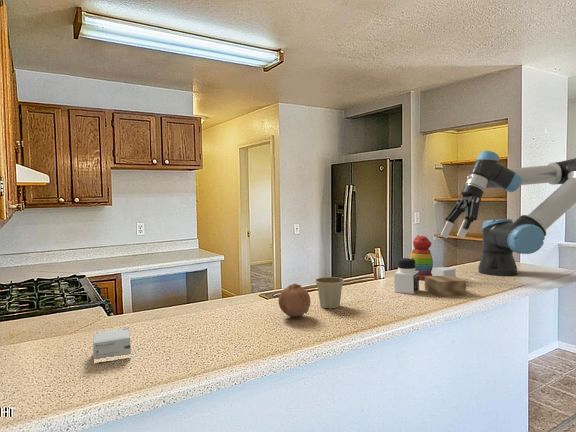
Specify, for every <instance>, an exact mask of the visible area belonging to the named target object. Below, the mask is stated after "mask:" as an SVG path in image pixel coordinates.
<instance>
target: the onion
mask: <svg viewBox="0 0 576 432" xmlns="http://www.w3.org/2000/svg"><path fill="white" fill-rule="evenodd" d="M278 306H279V308H280V310H281V311H282V312H283V313H284V314H286V316H288V317H289V318H298V317H303V315H304V314H308V312H309V310H310V309H309V308H310V306H311V297H310V294H309V292H308V291H307V290H306V289H305V288H303V287H302V285H300V284H298V283H293V284H290V285H288V286H287V287H285V288H283V290H282V291H281V292H280V294H279V297H278Z"/></svg>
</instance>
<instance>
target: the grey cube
mask: <svg viewBox="0 0 576 432" xmlns="http://www.w3.org/2000/svg"><path fill="white" fill-rule="evenodd" d="M456 271H457V270H456V268H452V267H447V266H440V267H439V266H438V267H432V272H431V273H432V276H442V275H452V276H454V277H457V275H456Z"/></svg>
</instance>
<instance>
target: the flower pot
mask: <svg viewBox="0 0 576 432" xmlns="http://www.w3.org/2000/svg"><path fill="white" fill-rule="evenodd" d="M314 282H315V283H316V286H317V294H318V299H319V306H320V307H321V308H322V307H323V309H330V310H333V309H332V308H334V309H338V308H339V307H340V306H341V297H342V291H343V286H344V282H345V279H344V278H342V277H336V276H324V277H317V278H315V280H314Z"/></svg>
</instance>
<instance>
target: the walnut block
mask: <svg viewBox="0 0 576 432" xmlns="http://www.w3.org/2000/svg"><path fill="white" fill-rule="evenodd" d="M424 291H426V292H428V293H430V294H433V295H435V296H437V297H438V298H439V297H455V296H466V295H467V280H465V279H463V278H460V277H457V276H456V277H454V276H452V275H442V276H425V280H424Z"/></svg>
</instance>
